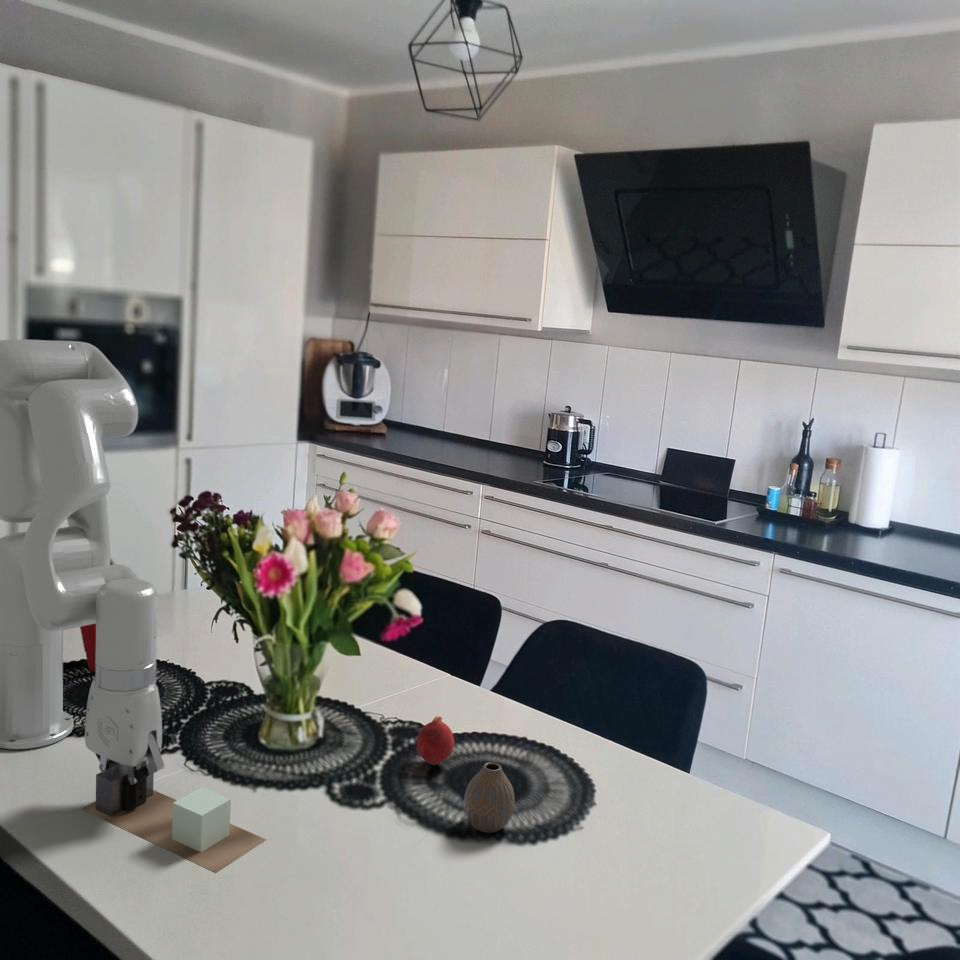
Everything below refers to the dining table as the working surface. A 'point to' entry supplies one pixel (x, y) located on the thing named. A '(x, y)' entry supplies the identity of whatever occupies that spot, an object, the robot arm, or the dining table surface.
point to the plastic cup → (89, 644)
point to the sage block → (201, 819)
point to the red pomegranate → (435, 741)
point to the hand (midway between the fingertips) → (124, 800)
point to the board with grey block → (162, 821)
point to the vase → (489, 799)
